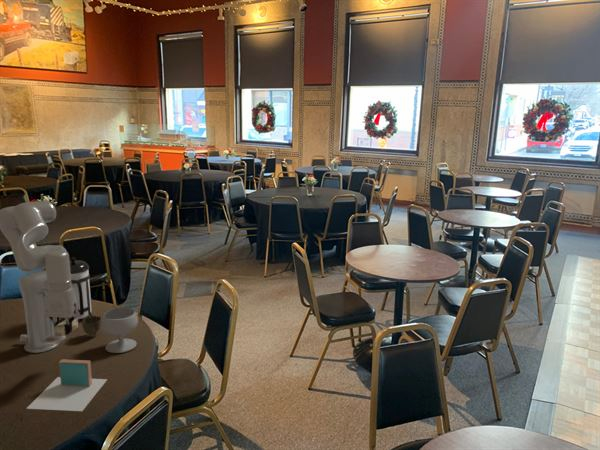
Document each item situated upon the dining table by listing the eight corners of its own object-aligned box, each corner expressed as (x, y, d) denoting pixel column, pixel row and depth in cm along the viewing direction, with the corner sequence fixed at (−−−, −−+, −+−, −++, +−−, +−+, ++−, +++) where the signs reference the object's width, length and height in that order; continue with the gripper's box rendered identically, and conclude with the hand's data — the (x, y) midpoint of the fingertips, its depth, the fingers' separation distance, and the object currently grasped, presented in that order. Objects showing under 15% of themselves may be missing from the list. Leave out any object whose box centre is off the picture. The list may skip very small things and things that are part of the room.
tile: (60, 385, 154) (58, 362, 152) (64, 382, 156) (61, 359, 154) (89, 387, 154) (87, 363, 152) (92, 383, 156) (90, 360, 154)
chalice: (135, 354, 179) (133, 320, 175) (99, 356, 177) (96, 321, 173) (141, 337, 192) (140, 305, 189) (107, 339, 190) (105, 306, 187)
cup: (87, 332, 196) (85, 315, 194) (104, 331, 196) (103, 315, 195) (80, 340, 189) (78, 322, 187) (98, 340, 189) (96, 322, 187)
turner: (68, 326, 168) (67, 316, 167) (81, 327, 168) (80, 317, 167) (39, 345, 151) (38, 334, 151) (53, 346, 151) (53, 334, 150)
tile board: (26, 412, 142) (26, 408, 141) (58, 380, 159) (57, 377, 159) (82, 415, 141) (82, 411, 141) (107, 383, 159) (107, 379, 159)
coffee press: (50, 323, 202) (44, 260, 196) (75, 309, 218) (70, 251, 211) (83, 328, 199) (78, 264, 192) (106, 314, 214) (102, 254, 207)
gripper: (30, 287, 154) (35, 336, 158) (75, 290, 153) (80, 339, 157) (44, 280, 161) (49, 327, 165) (87, 282, 160) (91, 329, 164)
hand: (64, 332), depth 161 cm, fingers closed on turner, 2 cm apart
